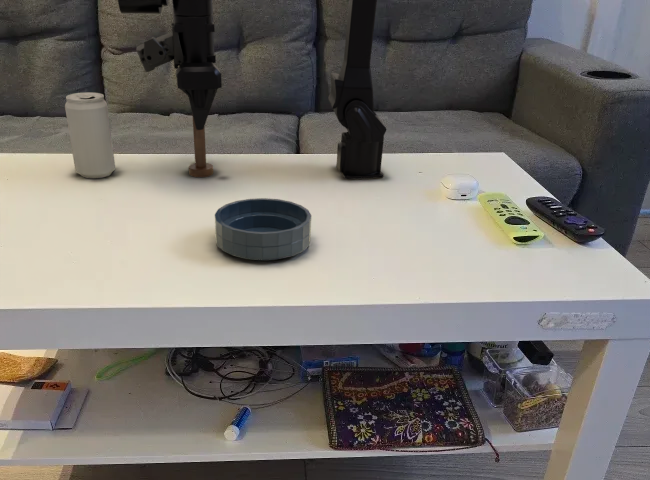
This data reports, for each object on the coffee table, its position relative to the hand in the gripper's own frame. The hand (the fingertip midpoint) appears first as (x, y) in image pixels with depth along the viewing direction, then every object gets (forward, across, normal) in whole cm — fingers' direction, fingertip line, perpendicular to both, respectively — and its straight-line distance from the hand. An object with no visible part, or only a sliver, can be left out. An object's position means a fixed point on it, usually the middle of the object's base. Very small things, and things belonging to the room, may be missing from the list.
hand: (198, 126), depth 105 cm
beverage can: (+8, -2, -17) cm, 19 cm away
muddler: (+8, 0, 0) cm, 8 cm away
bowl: (+8, +30, +6) cm, 32 cm away
